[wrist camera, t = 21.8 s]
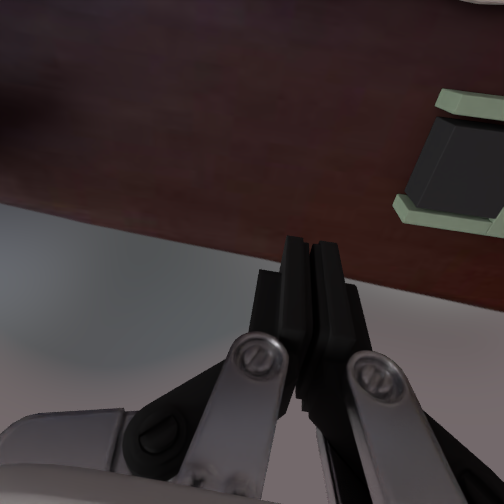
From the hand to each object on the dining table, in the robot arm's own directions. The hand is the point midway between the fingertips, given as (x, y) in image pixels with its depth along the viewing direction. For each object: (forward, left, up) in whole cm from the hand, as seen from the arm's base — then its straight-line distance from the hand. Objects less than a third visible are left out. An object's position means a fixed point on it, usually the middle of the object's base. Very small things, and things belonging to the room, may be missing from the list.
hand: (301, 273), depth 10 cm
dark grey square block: (+14, 0, -19) cm, 24 cm away
